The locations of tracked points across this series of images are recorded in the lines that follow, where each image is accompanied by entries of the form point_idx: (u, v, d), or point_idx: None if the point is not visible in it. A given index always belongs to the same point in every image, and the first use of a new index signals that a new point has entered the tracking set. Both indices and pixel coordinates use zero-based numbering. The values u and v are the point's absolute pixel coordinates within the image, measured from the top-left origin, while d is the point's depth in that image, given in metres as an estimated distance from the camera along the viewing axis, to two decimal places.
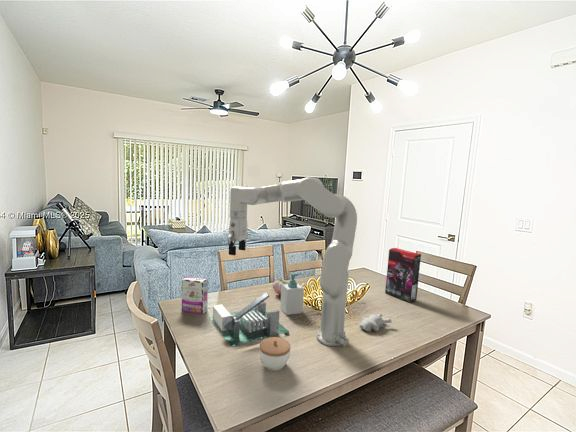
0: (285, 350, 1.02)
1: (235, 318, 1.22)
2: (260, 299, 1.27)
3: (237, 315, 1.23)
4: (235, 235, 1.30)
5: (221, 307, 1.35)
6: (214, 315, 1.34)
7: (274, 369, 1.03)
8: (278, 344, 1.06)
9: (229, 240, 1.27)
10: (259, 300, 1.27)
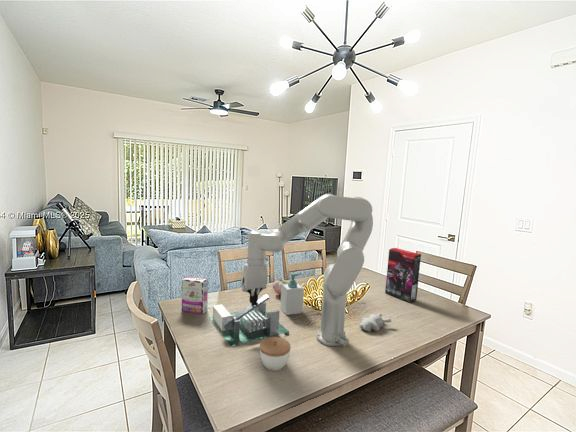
0: (285, 350, 1.02)
1: (235, 318, 1.22)
2: (261, 300, 1.28)
3: (237, 315, 1.24)
4: None
5: (221, 307, 1.35)
6: (214, 315, 1.34)
7: (274, 369, 1.03)
8: (278, 344, 1.06)
9: None
10: (260, 301, 1.27)
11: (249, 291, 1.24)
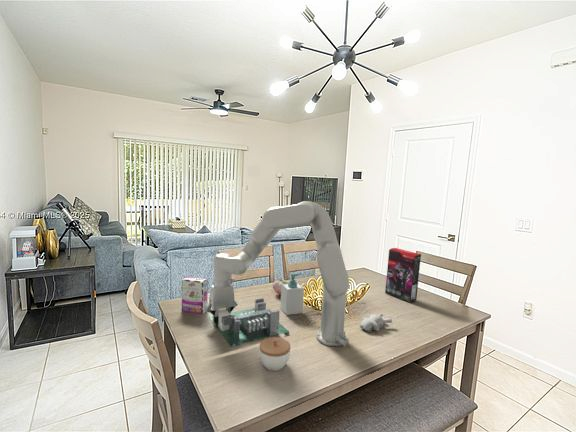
0: (285, 350, 1.02)
1: (236, 318, 1.22)
2: (263, 312, 1.29)
3: (238, 316, 1.24)
4: None
5: None
6: None
7: (274, 369, 1.03)
8: (278, 344, 1.06)
9: None
10: (262, 312, 1.29)
11: (212, 312, 1.29)
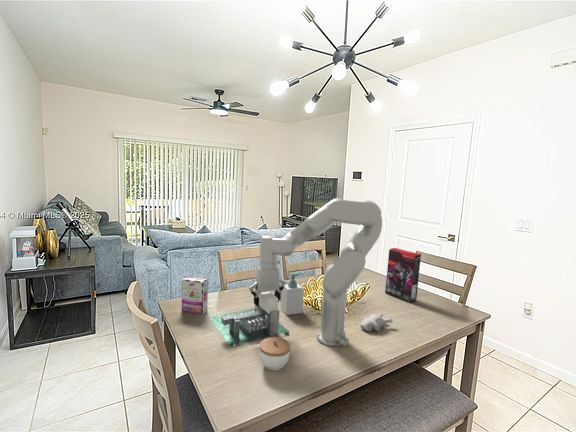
0: (285, 350, 1.02)
1: (236, 318, 1.22)
2: (263, 312, 1.29)
3: (238, 316, 1.24)
4: None
5: None
6: None
7: (274, 369, 1.03)
8: (278, 344, 1.06)
9: None
10: (262, 312, 1.29)
11: (253, 293, 1.25)
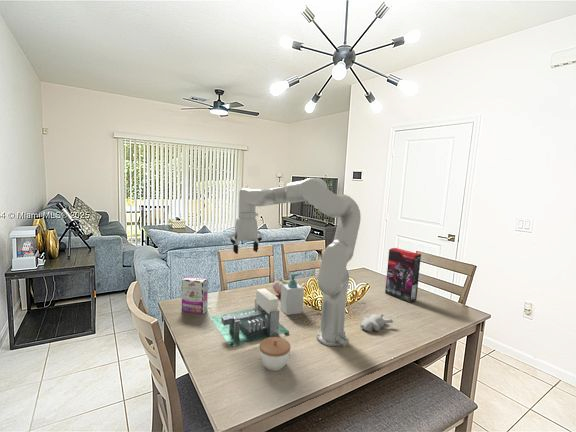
0: (285, 350, 1.02)
1: (236, 318, 1.22)
2: (263, 312, 1.29)
3: (238, 316, 1.24)
4: None
5: (265, 291, 1.33)
6: (258, 299, 1.32)
7: (274, 369, 1.03)
8: (278, 344, 1.06)
9: None
10: (262, 312, 1.29)
11: (232, 241, 1.35)
